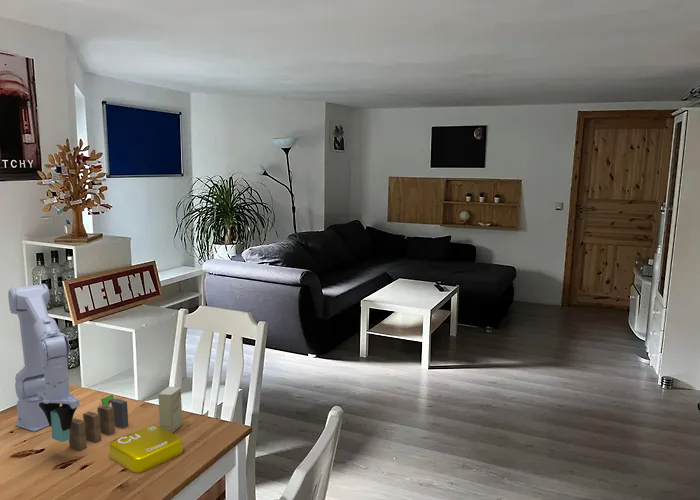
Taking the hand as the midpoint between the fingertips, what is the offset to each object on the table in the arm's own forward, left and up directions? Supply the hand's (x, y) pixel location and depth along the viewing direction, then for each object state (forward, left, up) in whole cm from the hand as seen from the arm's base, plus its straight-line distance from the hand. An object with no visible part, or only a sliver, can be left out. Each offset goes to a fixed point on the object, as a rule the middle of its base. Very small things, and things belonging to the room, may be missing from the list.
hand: (60, 427), depth 154 cm
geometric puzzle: (-8, +23, -9) cm, 26 cm away
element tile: (+20, +11, -9) cm, 25 cm away
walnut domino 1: (0, +5, -8) cm, 10 cm away
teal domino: (0, 0, -3) cm, 3 cm away
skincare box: (+15, +26, -9) cm, 31 cm away
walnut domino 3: (0, +15, -8) cm, 17 cm away
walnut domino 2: (0, +10, -8) cm, 13 cm away
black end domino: (0, +20, -8) cm, 22 cm away
